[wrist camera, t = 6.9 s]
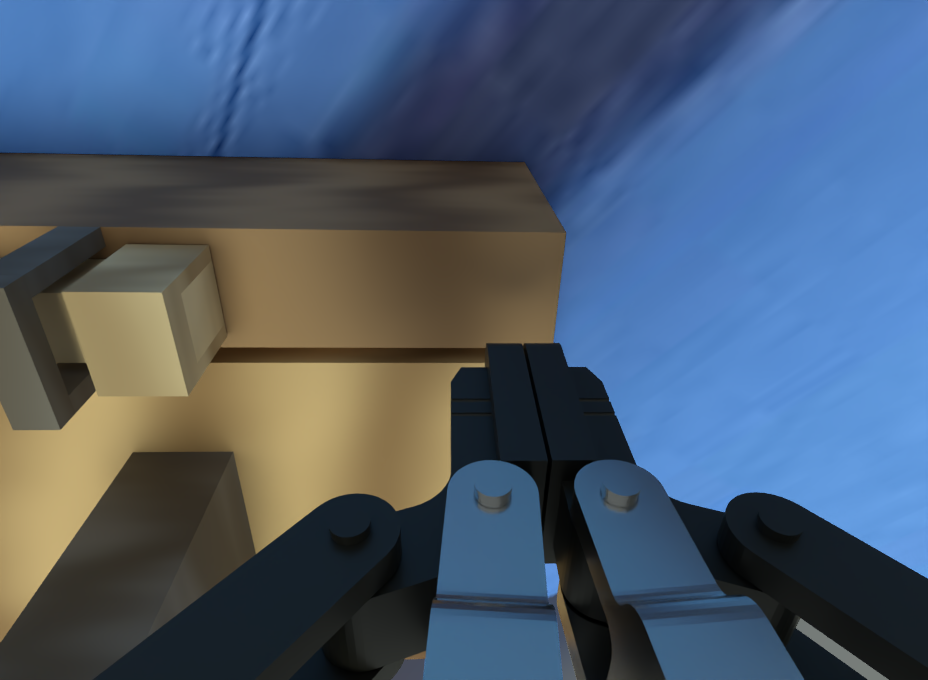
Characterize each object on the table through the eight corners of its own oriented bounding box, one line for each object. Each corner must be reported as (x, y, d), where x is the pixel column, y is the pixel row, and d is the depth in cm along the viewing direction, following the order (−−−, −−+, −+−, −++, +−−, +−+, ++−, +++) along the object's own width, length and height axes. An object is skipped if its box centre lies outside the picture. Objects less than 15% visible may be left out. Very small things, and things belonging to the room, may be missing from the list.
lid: (488, 345, 17) (524, 568, 10) (474, 608, 23) (490, 860, 16) (-161, 343, 16) (-603, 587, 9) (0, 618, 22) (-196, 888, 16)
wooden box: (524, 162, 22) (601, 292, 11) (497, 509, 30) (527, 755, 20) (-89, 150, 20) (-600, 283, 10) (68, 514, 29) (-124, 776, 19)
